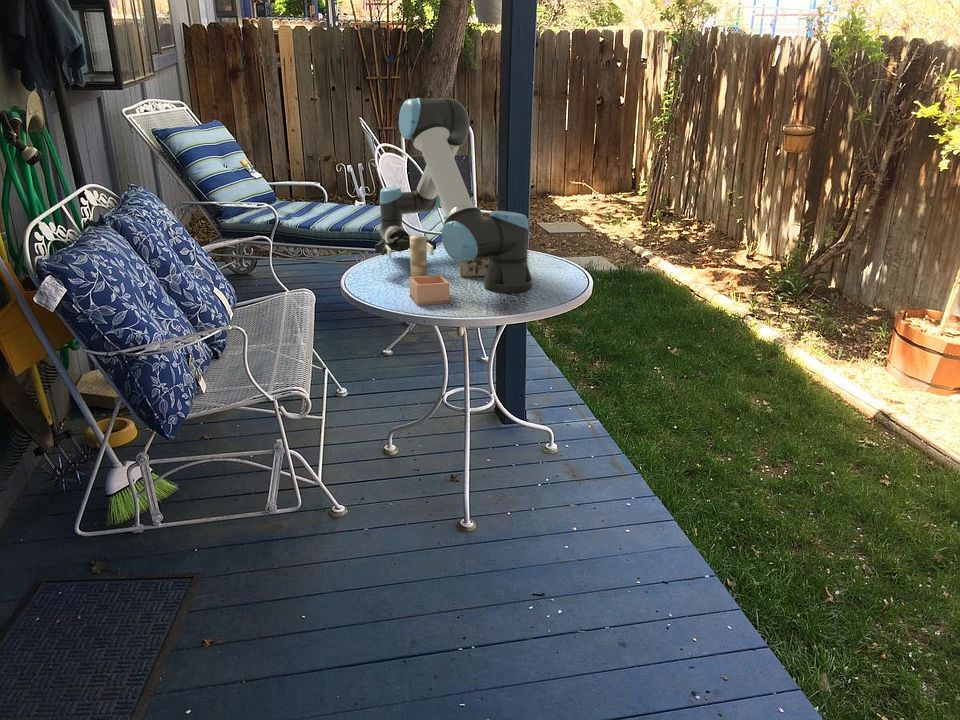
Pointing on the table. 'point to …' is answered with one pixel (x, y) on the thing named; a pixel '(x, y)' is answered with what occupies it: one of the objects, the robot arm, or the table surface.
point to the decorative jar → (474, 267)
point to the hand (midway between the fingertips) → (411, 252)
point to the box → (429, 290)
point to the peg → (418, 256)
